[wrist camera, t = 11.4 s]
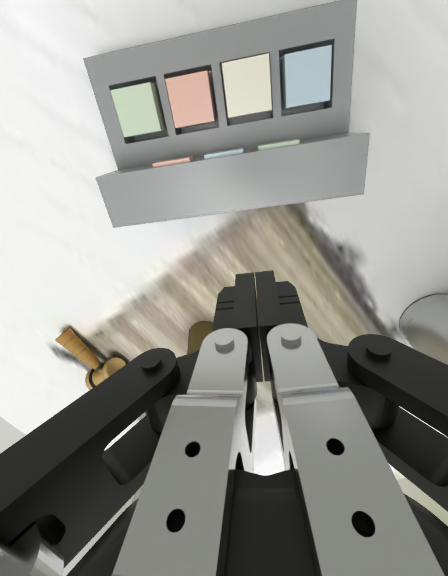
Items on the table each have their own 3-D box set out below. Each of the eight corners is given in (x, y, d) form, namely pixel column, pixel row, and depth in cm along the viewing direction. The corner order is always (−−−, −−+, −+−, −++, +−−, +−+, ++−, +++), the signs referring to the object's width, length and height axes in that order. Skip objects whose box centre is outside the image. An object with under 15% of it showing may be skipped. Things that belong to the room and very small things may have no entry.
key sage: (160, 87, 29) (149, 82, 26) (169, 130, 31) (160, 130, 28) (125, 94, 30) (110, 90, 26) (136, 136, 32) (123, 137, 28)
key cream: (265, 62, 26) (268, 53, 23) (268, 112, 28) (271, 109, 25) (224, 71, 27) (221, 63, 23) (230, 118, 29) (228, 117, 25)
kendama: (59, 337, 52) (126, 398, 56) (36, 354, 46) (113, 422, 50) (86, 313, 51) (153, 378, 55) (66, 328, 45) (144, 400, 49)
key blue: (321, 54, 27) (331, 44, 24) (320, 103, 29) (329, 100, 26) (280, 63, 27) (284, 54, 24) (281, 110, 29) (286, 108, 26)
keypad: (342, 13, 26) (386, -39, 18) (334, 178, 34) (363, 194, 25) (102, 66, 30) (47, 42, 21) (142, 205, 37) (113, 227, 29)
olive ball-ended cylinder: (184, 324, 47) (168, 374, 37) (217, 318, 46) (210, 367, 36) (195, 350, 50) (183, 402, 40) (227, 345, 48) (223, 397, 39)
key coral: (211, 77, 28) (206, 70, 25) (217, 121, 30) (214, 121, 27) (174, 84, 29) (165, 79, 26) (182, 128, 31) (175, 128, 28)
